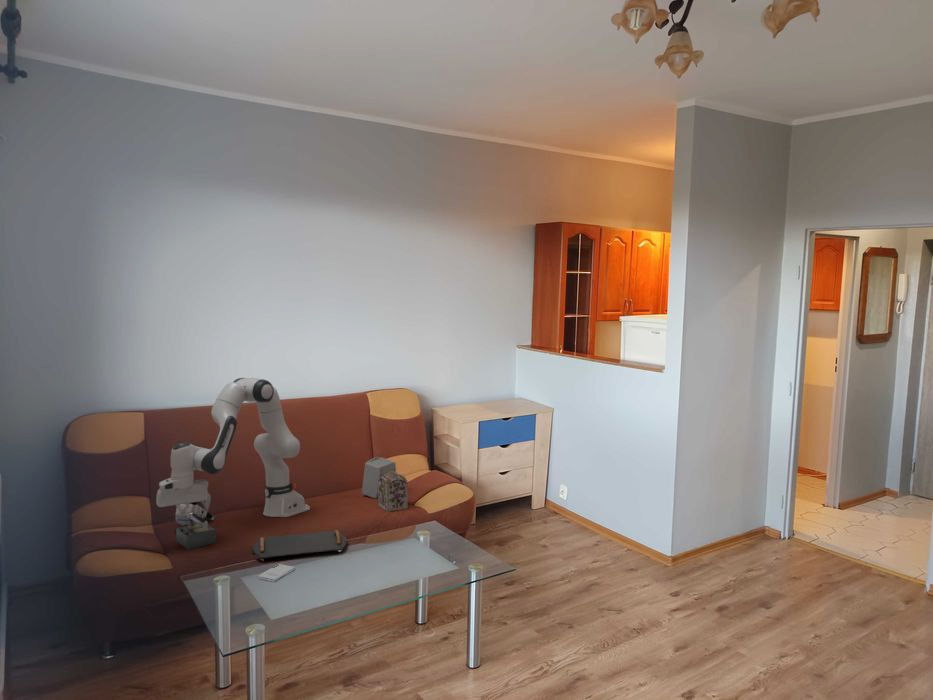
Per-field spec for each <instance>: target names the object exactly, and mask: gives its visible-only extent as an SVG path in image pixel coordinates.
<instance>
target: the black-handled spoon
mask: <svg viewBox="0 0 933 700" xmlns="http://www.w3.org/2000/svg"><path fill="white" fill-rule="evenodd" d="M187 519H189V520H191V519H192V520H193V521H195V522H196V523H198V524H200V525H201V526H202V530H205V529H208V525H209V523H208V521H207V519H202V518H201V517H199V516H198V515H196V512H195V511H191V512H188V513H187Z"/></svg>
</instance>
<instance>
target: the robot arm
mask: <svg viewBox="0 0 933 700" xmlns="http://www.w3.org/2000/svg"><path fill="white" fill-rule="evenodd" d="M244 402H248V403H253V402H254V403H256V406H257V407H256V408H257V413H258V418H259V422H260V426H261V427H262V429H263V430H264V431H265V433H260V434H258V435H256V437H255V439H254V441H253V447H254V450H255V451H256V452H257V453H258V455H259V456H260V458H261V461H262V463H263V466H264V471H265V487H264V496H265V503H264V509H263V513H262V515H264V516H265V517H271V518H279V517H280V518H288V517H291V516H295V515H298V514H300V513H304V512H307V511H310V510H311V507H310V505H308V504H307V503H306V501H305V498H304V495H302V494H300V493H299V492H298V491H296V490H294V489H297V484H296V483H291V482H290V469H289V466H288V464H287V463H285V461H284V459H290V458H295V457H296V456H298V455H299V453H300V451H301V442H300V440H299V439H298V438H296V436H294V434H293V433H292V432H291V431H290V429H289V427H288V426H287V423H286V421H285V417H284V413H283V407H282V404H281V399H280V395H279V394H278V391H277V389H276V388H275V386H273V384H272V383H271V382H270V381H268V380H267V379H264V378H263V379H260V378H255V377H251V378H250V377H239V378H236V379H234V380H233V381H231V382H228V383H227V384H226V385H225V386H224V387H223V388H222V390H221V391H220V393H219V394H218V396H217V397H216V399H215V401H214V403H213V405H212V407H211V411H210V413H211V414H210V415H211V417H212V420H213V421H214V422H215V423H216V424H217V425H218V426H219V433H218V436H217V438H216V441H215V443H214V446H213V447H212V448H205V447H200V446H197V445H194V444H192V443H191V442H188V441H185V442H179V443H177V444H175V445H173V447H172V448H171V451H170V452H171V453H170V468H171V473H170V477H169V478H166V479H164V480H161V481H160V482H159V483H158V486H159V488H158V490H156V491H157V492H156V499H155V500H156V502H155V503H156V506H157V507H158V508H163V507H164V508H165V507H171V506H175V507H176V509H177V508H178V510H179V515H181V514H187V509H188V507H189V506H190V503H192V502H199V501H206V500H207V499H208V493H209V491H208V488H209V481H208V480H207V479H205V478H201V479H194V478H195V477H194V475H195V474H194V471H196V470H197V471H200V472H204V473H207V474H210V475H216V474H219V473H220V472H221V471H222V470H223V469H224V467H225V466H226V463H227V456H228V452H229V449H230V448H231V444H232V441H233V438H234V436H235V433H236V431H237V425H238V422H237V421H238V420H237V417H238V414H239V412H240V410H241V408H242V406H243V403H244ZM180 504H185V505H186V507H185V509H180V508H179V507H180Z"/></svg>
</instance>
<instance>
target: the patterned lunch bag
mask: <svg viewBox="0 0 933 700" xmlns="http://www.w3.org/2000/svg"><path fill="white" fill-rule="evenodd" d="M408 486H409V485H408V480H407V478H406V476H405V475H403V474H399V473H398V472H397V471H396V472H389V473H388V474H387V475H384V476H382V477H381V478H380V479H379V480H378V498H377V499H378V502H377V503H378V506H379V507H380V508H381V509H383V510H384V511H385V512H387V513H388V512H395V511H401V510H402V511H403V510H407V509H408V508H409V507H408V506H409V505H408V503H409V495H408V494H409V487H408Z"/></svg>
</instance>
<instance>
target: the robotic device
mask: <svg viewBox="0 0 933 700" xmlns="http://www.w3.org/2000/svg"><path fill="white" fill-rule="evenodd" d="M211 500H212V499H211V494H210V493H209V492H208V499H207V500H206V501H199V502H192V503H190V506H189V507H188V509H187V513H188V512H191V511H195V512H196V515H198V516H199V517H201V518H202V519H204V520H211V521H215V518H216V516H214V515H213V514H211V513H210V512H209V508H210V504H211ZM185 507H186V505H185V504H180V507H179V508H180V509H185ZM174 517H175V519H174V521H175V522H176V523H178V524H180V525H181V527H183V526H188V525H189V519H187V514H181V515H179V510H178V508H177V507H176V509H175V516H174ZM195 524H197V523H196V522H195Z"/></svg>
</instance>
